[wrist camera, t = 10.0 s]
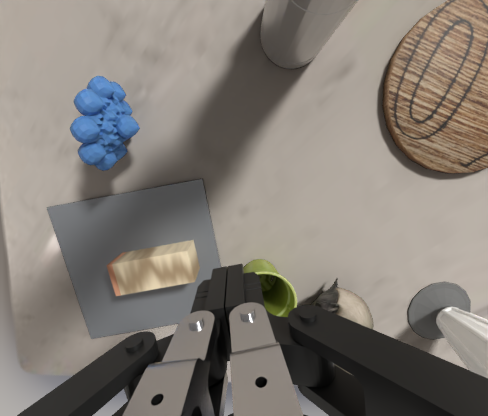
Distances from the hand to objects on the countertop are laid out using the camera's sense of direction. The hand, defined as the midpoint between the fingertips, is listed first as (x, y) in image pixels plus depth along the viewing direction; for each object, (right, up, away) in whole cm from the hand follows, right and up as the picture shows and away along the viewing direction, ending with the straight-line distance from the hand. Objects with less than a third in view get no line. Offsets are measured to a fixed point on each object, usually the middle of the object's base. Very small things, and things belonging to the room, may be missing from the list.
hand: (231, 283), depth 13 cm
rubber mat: (-16, -5, +30) cm, 34 cm away
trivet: (+34, +22, +26) cm, 48 cm away
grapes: (-16, +16, +26) cm, 34 cm away
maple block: (-19, -7, +27) cm, 33 cm away
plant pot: (+3, -8, +31) cm, 32 cm away
